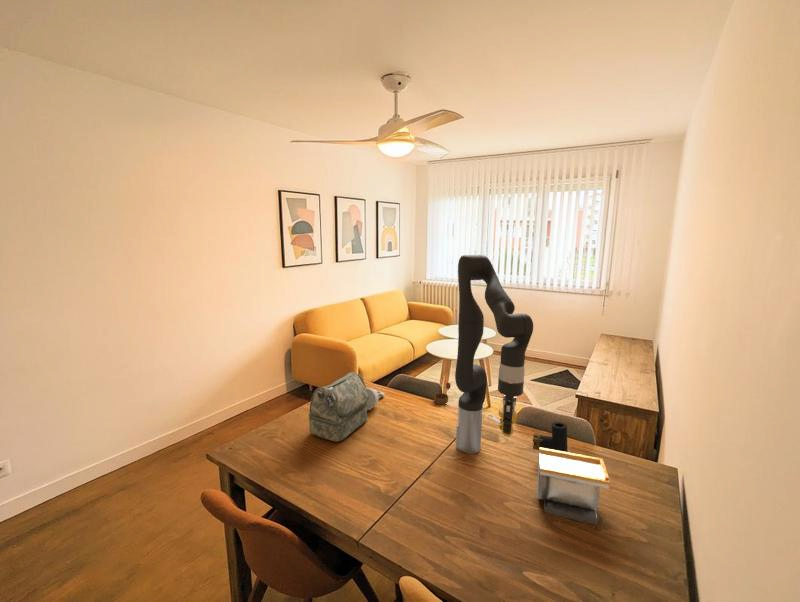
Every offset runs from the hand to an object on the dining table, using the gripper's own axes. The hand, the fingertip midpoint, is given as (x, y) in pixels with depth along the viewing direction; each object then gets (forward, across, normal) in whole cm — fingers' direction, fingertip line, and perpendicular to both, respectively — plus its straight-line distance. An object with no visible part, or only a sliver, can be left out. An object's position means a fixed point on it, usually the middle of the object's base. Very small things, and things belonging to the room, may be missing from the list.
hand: (507, 427), depth 115 cm
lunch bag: (+23, -18, -70) cm, 76 cm away
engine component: (+24, -44, -67) cm, 83 cm away
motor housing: (+22, 0, +19) cm, 29 cm away
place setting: (+23, -60, -32) cm, 72 cm away
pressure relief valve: (+3, -2, -2) cm, 4 cm away
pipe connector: (+22, -22, +15) cm, 35 cm away
